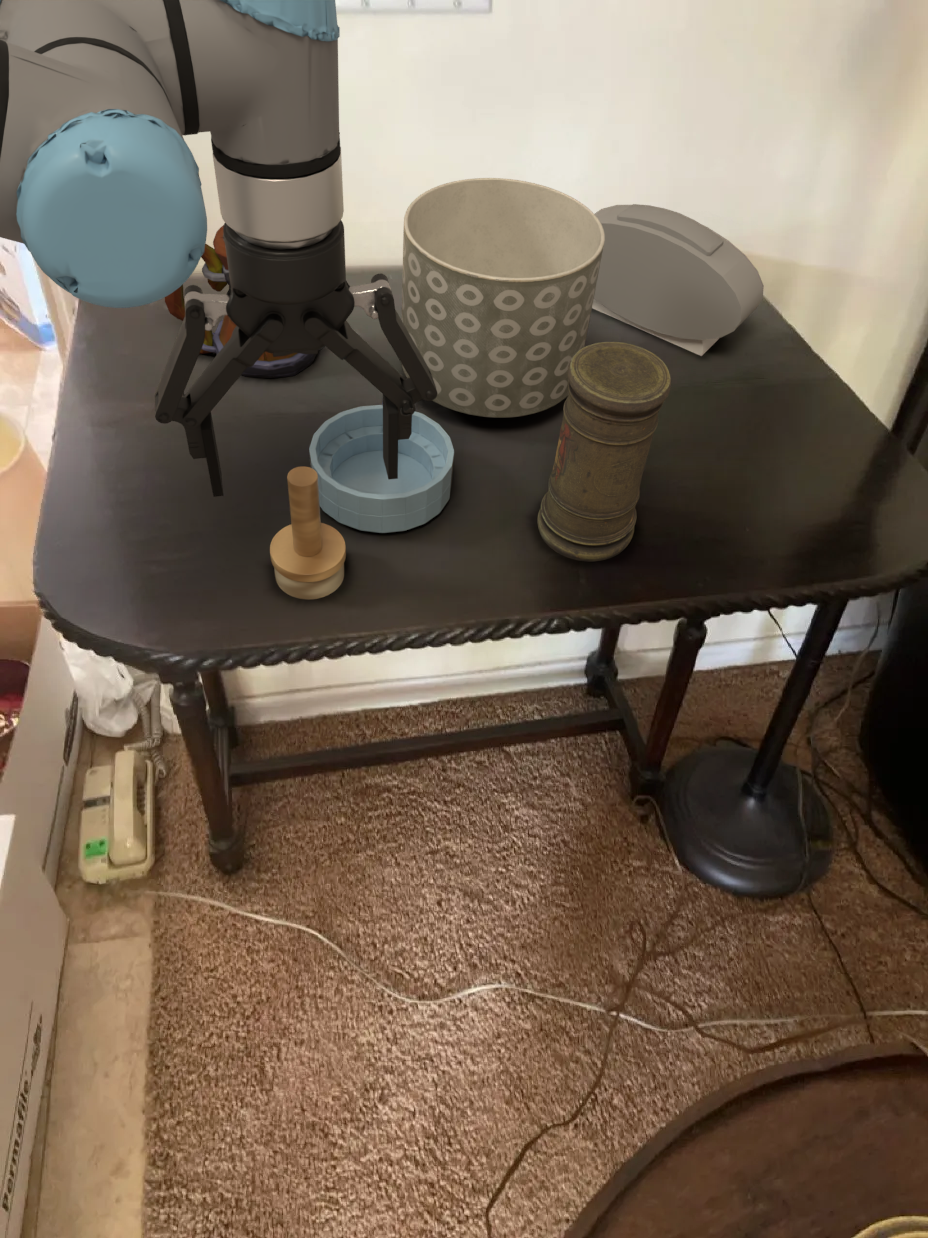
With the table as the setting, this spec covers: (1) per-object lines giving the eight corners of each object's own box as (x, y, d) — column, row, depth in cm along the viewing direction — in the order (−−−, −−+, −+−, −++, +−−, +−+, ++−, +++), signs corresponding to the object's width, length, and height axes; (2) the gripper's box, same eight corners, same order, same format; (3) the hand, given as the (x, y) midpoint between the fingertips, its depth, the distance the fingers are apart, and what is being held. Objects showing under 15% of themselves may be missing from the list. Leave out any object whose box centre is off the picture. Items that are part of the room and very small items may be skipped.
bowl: (321, 545, 88) (318, 505, 84) (305, 451, 96) (302, 410, 92) (463, 531, 90) (467, 491, 86) (435, 440, 98) (438, 400, 94)
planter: (581, 347, 111) (610, 192, 97) (567, 453, 98) (599, 292, 84) (417, 323, 111) (423, 165, 98) (384, 425, 99) (385, 262, 85)
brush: (276, 606, 83) (264, 507, 74) (270, 552, 87) (258, 453, 78) (351, 597, 84) (348, 499, 75) (341, 545, 88) (337, 446, 79)
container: (647, 522, 93) (694, 363, 79) (604, 578, 87) (647, 419, 74) (565, 484, 95) (597, 324, 82) (519, 536, 90) (545, 375, 76)
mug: (149, 386, 101) (120, 252, 89) (155, 323, 108) (129, 191, 96) (324, 381, 103) (317, 249, 92) (318, 320, 110) (311, 191, 99)
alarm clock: (747, 347, 113) (782, 244, 103) (724, 370, 110) (758, 267, 100) (578, 274, 121) (596, 172, 111) (552, 294, 117) (568, 191, 108)
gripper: (465, 182, 65) (449, 431, 81) (75, 198, 60) (141, 459, 77) (491, 239, 60) (469, 492, 77) (71, 262, 56) (142, 525, 72)
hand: (305, 476), depth 77 cm, fingers open, 13 cm apart
